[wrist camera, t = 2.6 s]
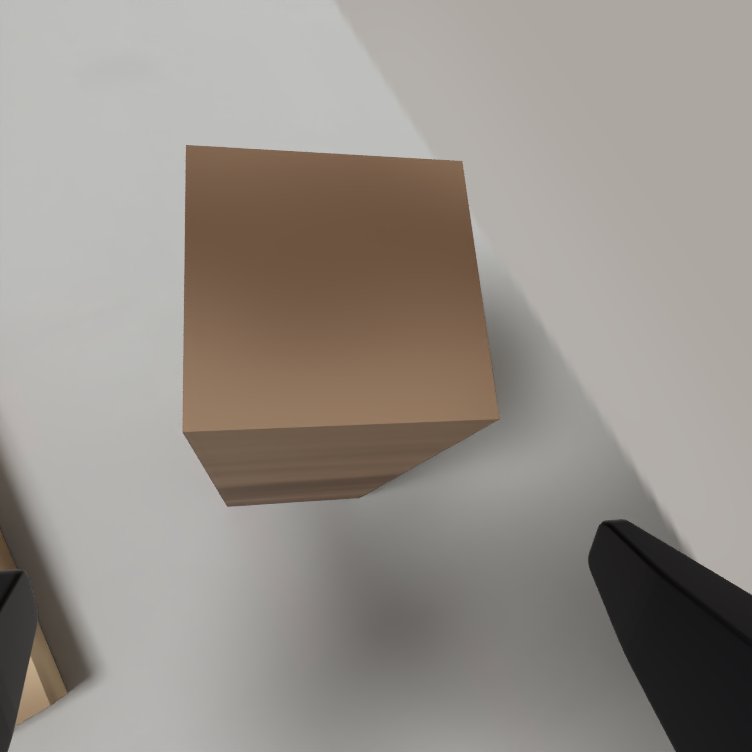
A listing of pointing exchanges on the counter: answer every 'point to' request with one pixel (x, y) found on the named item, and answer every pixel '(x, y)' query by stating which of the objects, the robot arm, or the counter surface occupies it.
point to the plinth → (35, 664)
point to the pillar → (328, 321)
